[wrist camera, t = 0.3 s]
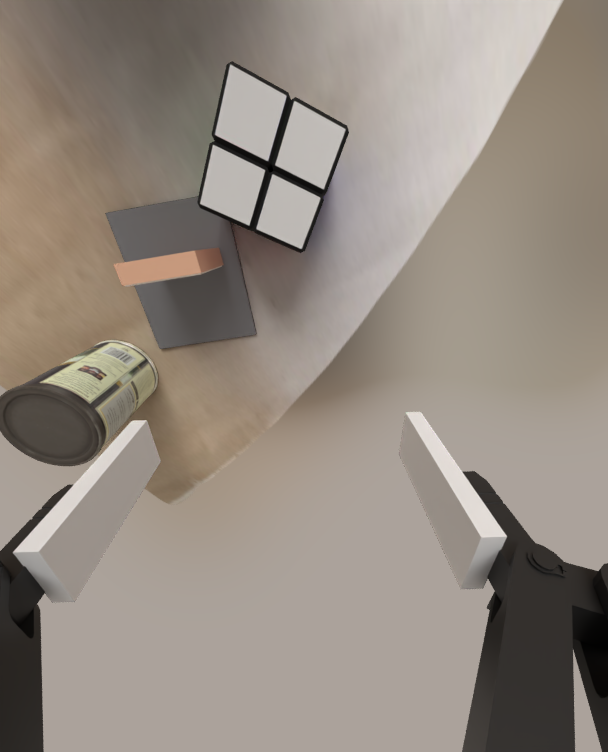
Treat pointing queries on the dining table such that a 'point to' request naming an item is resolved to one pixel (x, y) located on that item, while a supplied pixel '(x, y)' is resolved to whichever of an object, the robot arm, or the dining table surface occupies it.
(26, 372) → the dining table surface
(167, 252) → the mat
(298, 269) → the dining table surface
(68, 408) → the coffee can
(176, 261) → the tile
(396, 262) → the dining table surface
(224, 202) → the puzzle cube
